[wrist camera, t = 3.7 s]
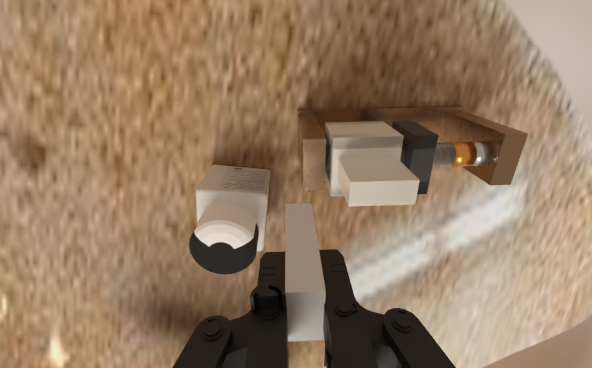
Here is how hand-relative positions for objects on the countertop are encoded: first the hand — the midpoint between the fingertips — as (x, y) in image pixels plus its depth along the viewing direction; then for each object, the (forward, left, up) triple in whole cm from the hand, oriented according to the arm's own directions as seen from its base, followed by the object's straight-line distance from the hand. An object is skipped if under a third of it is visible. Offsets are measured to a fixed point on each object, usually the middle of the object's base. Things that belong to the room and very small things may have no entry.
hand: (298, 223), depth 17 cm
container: (-7, -8, -21) cm, 24 cm away
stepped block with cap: (+6, 0, -15) cm, 16 cm away
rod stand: (+11, 0, -21) cm, 23 cm away
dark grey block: (+11, 0, -15) cm, 18 cm away
